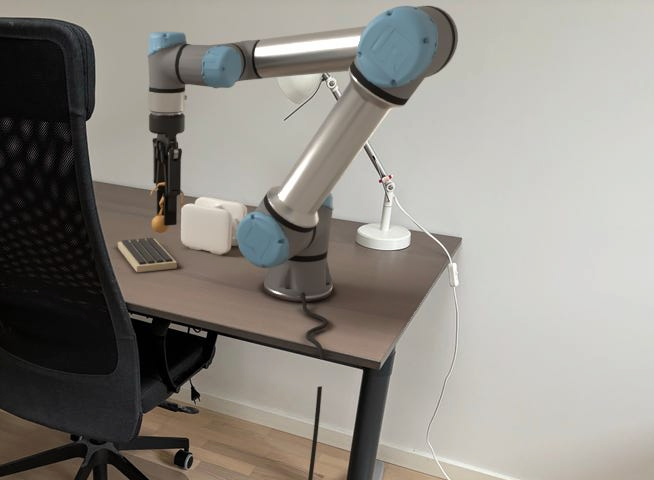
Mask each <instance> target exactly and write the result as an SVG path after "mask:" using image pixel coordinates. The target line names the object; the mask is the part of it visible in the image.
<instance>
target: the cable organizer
mask: <svg viewBox="0 0 654 480" xmlns="http://www.w3.org/2000/svg"><path fill="white" fill-rule="evenodd" d="M247 214H248V208H247V206H246V205H245V204H243V203H242V202H239V201H232V200H226V199H220V198H214V197H208V196H201V197H198V198H197V199H196V200H195V201H194V203H187V204H184V206H183V207H181V211H180V215H181V216H180V241H181V243H182V244H183V245H184V246H185V247H187V248H189V249H191V250H196V251H202V250H203V251H206V252H209V253H210V254H214V255H219V256H222V255H223V254H227V253H228V252H230V251H231V249H232V247H236V246H239V244H238V241H237V228H238V225H239V223H240V221H241V220H242V219H243V218H244V217H245V216H246V215H247Z"/></svg>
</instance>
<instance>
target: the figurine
mask: <svg viewBox="0 0 654 480" xmlns="http://www.w3.org/2000/svg"><path fill="white" fill-rule="evenodd" d="M163 185H165V182H164V183H159V184H158V185H157V186H156V185H155V187H154V188H152V190H151V191H150V194H149V196H150V197H151V196H152V194H153V193H154V192H155V191H157V189H158V187H159V186H163ZM184 196H185V193H184V191H183V190H182V189H181V193H180V197H181V204H180V208H182V207H183V206H184V205H185V203H184V202H185V197H184ZM163 203H164V197H163V196H162V199H161V201H160V203H159V205H160V207H161V210H160V213H159V214H158V215H157V214H156V215H155V216H154V217H153V218H152V220H151V228H152V229H153V231H154V232H155V233H158V234H163V233H165V232H167V231H168V230H169V227H170V225H168V226H165V225H164V215H161V214H162V211H163V205H162V204H163Z"/></svg>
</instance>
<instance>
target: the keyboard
mask: <svg viewBox="0 0 654 480" xmlns="http://www.w3.org/2000/svg"><path fill="white" fill-rule="evenodd" d="M117 249H118V250H119V251H120V252H121V254H122V255H123V257H124V258H125V259H126V260H127V262H128V263H129V264H130V265H131V267H132V268H133V269H134V270H135V272H136V273H145V272H154V271H163V270H174V269H178V268H177V267H178V262H177V261H176V260H175V259H174V258H173V256H172V255H171V254H170V253H169V252H168V251H167V250H166V249H165V248H164V247H163V246H162V245H161V243H159V242H158V241H157V240H156V238H153V237H146V238H138V239H136V238H133V239H129V240H128V239H122V240H121V241H117Z"/></svg>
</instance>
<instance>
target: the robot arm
mask: <svg viewBox="0 0 654 480" xmlns="http://www.w3.org/2000/svg"><path fill="white" fill-rule="evenodd" d="M458 42H459V33H458V28H457V25H456V23H455V21H454V19H453V17H452V16H451V15H450V14H449V13H448V12H447V11H446V10H444V9H442V8H441V7H439V6H438V7H437V6H433V5H420V6H413V5H400V6H396V7H391V8H389V9H387V10H385V11H383V12H381V13H380V14H378V15H376V16H375V17H373V18H372V20H370V21H369V22H368V24H367V25H365V26H364V25H363V26H357V27H356V26H355V27H348V28H347V27H346V28H339V29H331V30H323V31H317V32H308V33H301V34H300V33H299V34H294V35H285V36H277V37H276V36H275V37H268V38H262V39H252V40H251V39H249V40H248V39H247V40H241V41H236V42H227V43H216V44H192V43H191V44H190V43H187V35H186V34H185V33H184V32H183V31H182V32H181V31H154V32H152V33H150V35H149V38H148V53H147V59H148V61H147V63H148V82H149V83H148V111H149V112H150V113H149V115H148V130H149V132H150V133H152V134H155V135H156V137H153V138H152V148H153V150H152V152H153V158H152V159H153V179H152V182H153V184H155V187H156V186H157V185H158V184H159V183H164V182H165V185H163V186H159V187H158V188H157V189H156V216H157V215H158V214H159V213H160V210H161V207H160V205H159V203H160V201H161V199H162V196H163V197H164V203H163V204H162V205H163V211H162V214H161V215H164V225H165V226H168V225H169V226H176V225H177V223H178V221H177V219H178V218H177V217H178V214H177V213H178V211H177V210H178V208H177V207H178V196H181V190H182V189H181V188H182V187H181V185H182V179H181V178H182V176H181V175H182V154H183V150H182V148H180V147H179V142H178V140H177V136H178V135H179V134H182V133H184V132H185V129H186V127H185V125H186V116H185V114H184V111H186V110H185V109H186V102H185V101H186V100H187V99H188V96H187V94H186V85H189V86H190V85H191V86H200V87H208V88H212V89H229V88H232V87H234V86H235V84H236V83H237V82H243V81H253V80H261V79H262V80H263V79H271V78H282V77H283V78H284V77H295V76H307V75H319V74H332V73H342V72H348V74H349V79H350V80H349V83H348V84H347V86H346V87H345V89H344V90H343V91H342V93H341V95H340V96H339V98H338V99H337V101H336V102H335V103H334V105H333V107H332V108H331V110H330V111H329V113H328V114H327V115H326V117H325V119H324V120H323V121H322V123H321V125H320V126H319V128H318V129H317V131H316V132H315V134H314V135H313V137H312V139H311V140H310V141H309V143H308V144H307V146H306V147H305V149H304V150H303V152H302V153H301V155H300V156H299V158H298V160H297V161H296V162H295V164H294V165H293V167H292V168H291V170H290V171H289V173H287V175H286V177H285V178H284V181H283V182H282V184H281V185H278V186H272V187H271V188H269V189H268V190H267V192H266V194H265V195H264V197H263V198H262V199H261V201H260V203H259V204H258V206H257V207H256V208H255V210H254V211H251V212H249V213H247V215H246V216H245V217H244V218H243V219H242V220H241V221H240V223H239V225H238V228H237V241H238V244H239V245H238V249H239V251H240V252H241V255H242V256H243V258H245V260H246V261H248V262H249V264H252V265H253V266H255V267H258V268H260V269H267V272H266V274H265V276H264V281H263V290H264V291H265V292H266V293H267V294H268V295H270V296H272V297H274V298H277V299H279V300H283V301H287V302H296V303H302V310H303V312H304V313H305V314H306V315H307V316H309V317H312V318H313V319H315V320H316V319H317V320H319V321H321V322H323V323H322V324H320V325H318V326H315V327H312V328H310V329H309V330H307V331H306V334H305V338H306V340H307V341H308V342H310V343H312V344H313V345H314V346H315V347H316V349H317V352H318V355H319V359H321V360H324V359H325V353H324V349H323V347H322V344H321V343H320V342H319V341H318V340H317V339H315V338H313V337H311V335H312V334H313V333H316V332H319V331H321V330H323V329H325V328H327V327H328V324H329V322H328V319H327V318H326V317H324V316H323V315H319V314H317V313H314V312H312V311H310V310H309V309H308V305H307V303H311V302H317V301H321V300H324V299H327V298H329V297H330V296H331V295H332V293H333V279H332V276H331V271H330V266H329V262H328V261H329V260H328V253H329V245H330V244H329V243H330V237H331V236H330V235H331V227H332V219H333V211H334V197H333V194H332V191H333V190H334V188H335V187H336V186H337V184H338V183H339V181H340V180H341V178H342V177H343V176H344V174H345V173H346V171H348V169H349V168H350V166H351V165H352V164H353V161H355V159H356V158H357V156H358V155H359V154H360V153H361V151H362V150H363V148H364V147H365V146H366V144H367V143H368V141H369V140H370V138H371V137H372V136H373V135H374V133H375V132H376V130H377V129H378V127H380V125H381V123H382V122H383V120H384V119H385V118H386V116H387V115H388V113H389V112H390V111H391V110H393V109H397V108H398V109H399V108H402V107H404V106H406V104H407V103H408V101H409V100H410V99H411V97H412V96H413V95H414V94H415V92H416V90H417V89H418V88H419V87H420V85H421V84H422V83H423V81H424V80H425V79H426V78H429V77H432V76H435V75H436V74H438V73H440V72H441V71H442V70H443V69H444V68H446V66H448V65H449V63H450V62H451V60H452V59H453V57H454V55H455V53H456V51H457V47H458ZM322 393H323V386H322V385H321V386H317V391H316V401H315V402H316V403H315V413H314V414H315V415H314V423H313V424H314V425H313V433H312V434H313V435H312V436H313V437H312V444H311V452H310V460H309V461H310V463H309V471H308V478H307V480H313V479H314V470H315V462H316V455H317V454H316V453H317V445H318V444H317V443H318V436H319V435H318V434H319V427H320V426H319V425H320V415H321V405H322V404H321V403H322Z"/></svg>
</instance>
